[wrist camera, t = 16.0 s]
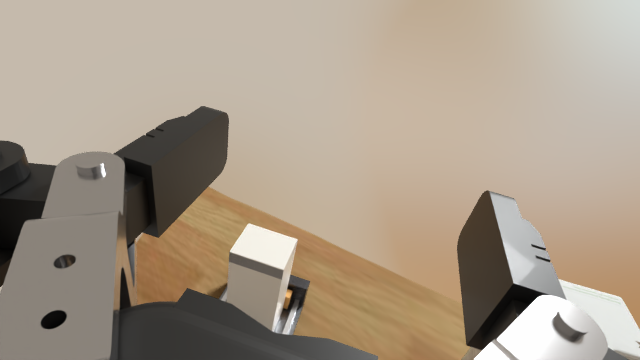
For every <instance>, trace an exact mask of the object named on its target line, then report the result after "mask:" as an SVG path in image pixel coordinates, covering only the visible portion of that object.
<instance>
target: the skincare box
mask: <svg viewBox="0 0 640 360" xmlns="http://www.w3.org/2000/svg"><path fill="white" fill-rule="evenodd" d="M559 282H560V284H561V287H562V289H563V292H564V294H565V297H566V299H567V301H569V302H571V303H573V304H575V305H576V306H578V307H579V308H581V309H582V310H583V311H585V312H586V313H587V314H588V315H589V316H590V317H591V318H592V319H593V320H594V321H595V322H596V323H597V324H598V325H599V327H600V328H601V329H602V331H603V333H604V334H605V337H606V339H607V343H608V348H610V349H612V350H613V351H615V352H617V353H619V354H620V355H622V356H624V357H626V358H627V359H629V360H640V329H639V328H638V326H637V324H636V322H635V321H634V319H633V317H632V315H631V313H630V312H629V310H628V308H627V306H626V305H625V303H624V302H623V300H622V298H621V297H618V296H615V295H611V294H608V293H604V292H600V291H597V290H593V289H590V288H587V287H583V286H579V285H576V284H572V283H569V282H566V281H562V280H559ZM481 352H482V350H479V349H476V348H473V347H471V348H470V349H469V350H468V352H467V353H466V354H465V355H464V357H463V358H462V359H461V360H474V359H475V358H476V357H477V356H478V355H479V354H480V353H481Z"/></svg>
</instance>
